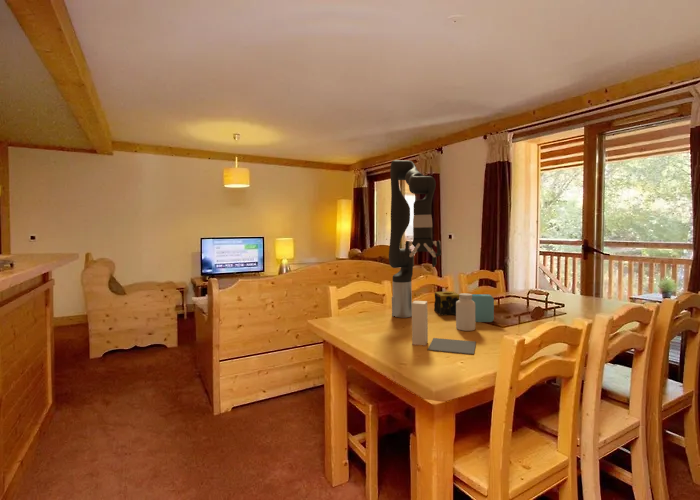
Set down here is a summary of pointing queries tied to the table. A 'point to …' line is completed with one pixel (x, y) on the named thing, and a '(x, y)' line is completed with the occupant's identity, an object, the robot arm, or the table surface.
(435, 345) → the mat
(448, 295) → the black and yellow cube
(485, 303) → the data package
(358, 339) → the table surface
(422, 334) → the cream pillar
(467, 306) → the pill bottle
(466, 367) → the table surface
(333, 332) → the table surface
